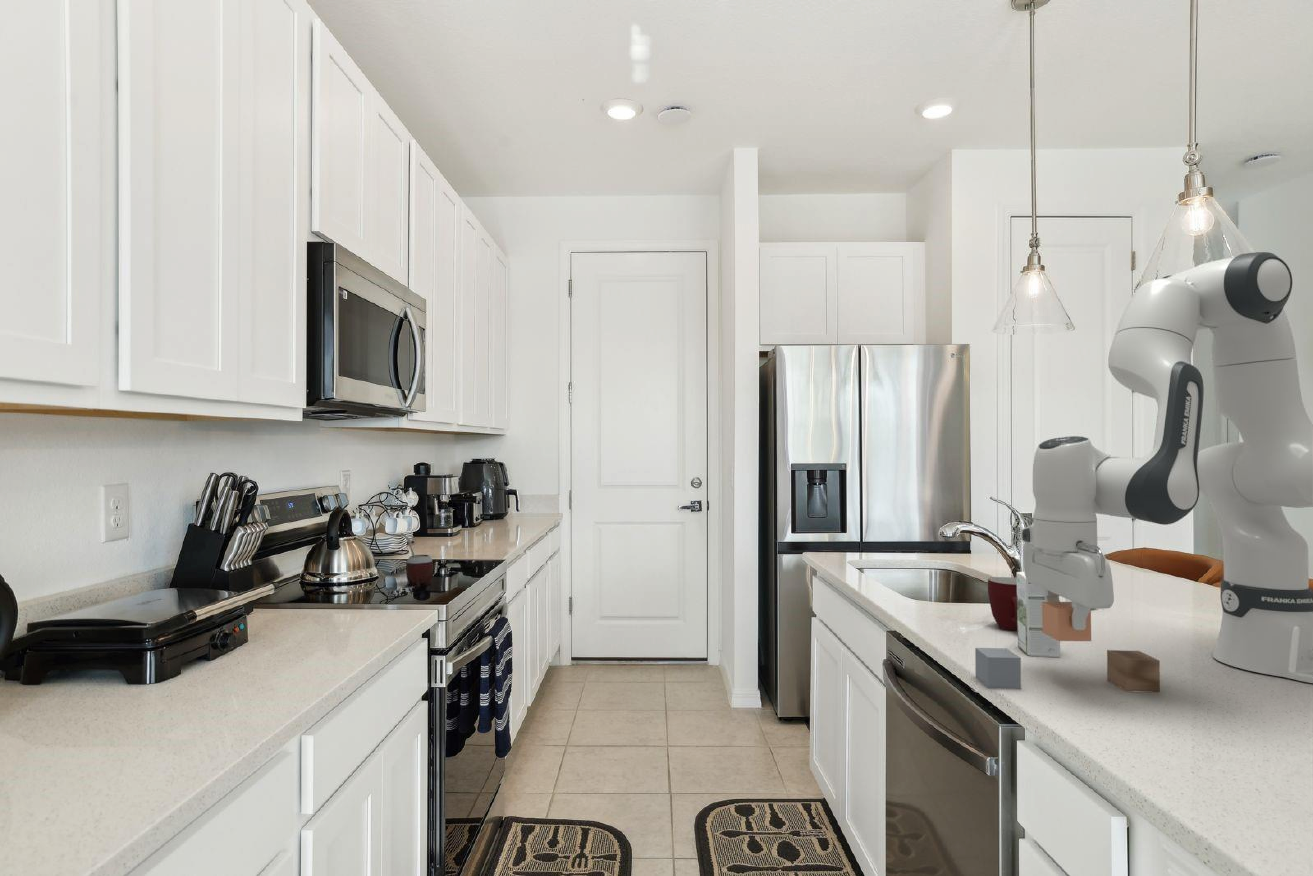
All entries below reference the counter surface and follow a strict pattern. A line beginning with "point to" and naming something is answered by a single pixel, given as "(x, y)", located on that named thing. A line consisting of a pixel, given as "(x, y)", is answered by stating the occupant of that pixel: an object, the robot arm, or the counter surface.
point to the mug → (1004, 601)
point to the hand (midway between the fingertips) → (1066, 623)
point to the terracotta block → (1063, 622)
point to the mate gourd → (418, 568)
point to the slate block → (998, 668)
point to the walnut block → (1133, 670)
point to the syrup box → (1032, 621)
